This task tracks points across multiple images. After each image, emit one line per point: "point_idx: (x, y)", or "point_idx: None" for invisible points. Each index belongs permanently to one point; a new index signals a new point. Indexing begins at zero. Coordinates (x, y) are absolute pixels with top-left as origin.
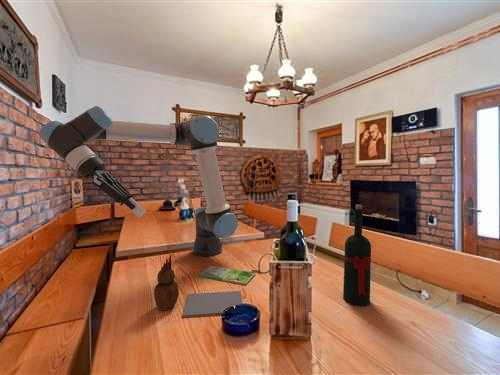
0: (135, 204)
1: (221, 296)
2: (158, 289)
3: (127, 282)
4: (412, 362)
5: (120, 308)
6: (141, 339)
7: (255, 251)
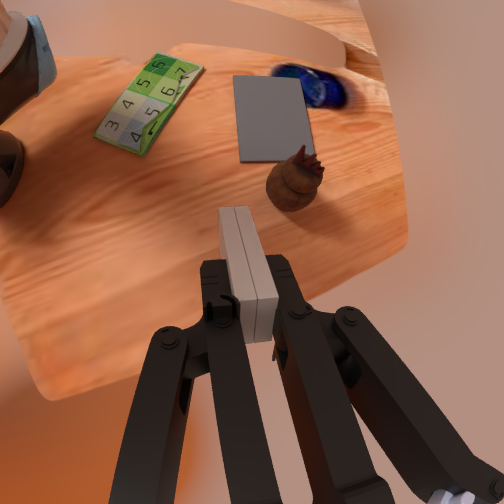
0: (262, 257)
1: (253, 103)
2: (315, 192)
3: None
4: (353, 4)
5: None
6: (365, 211)
7: None
